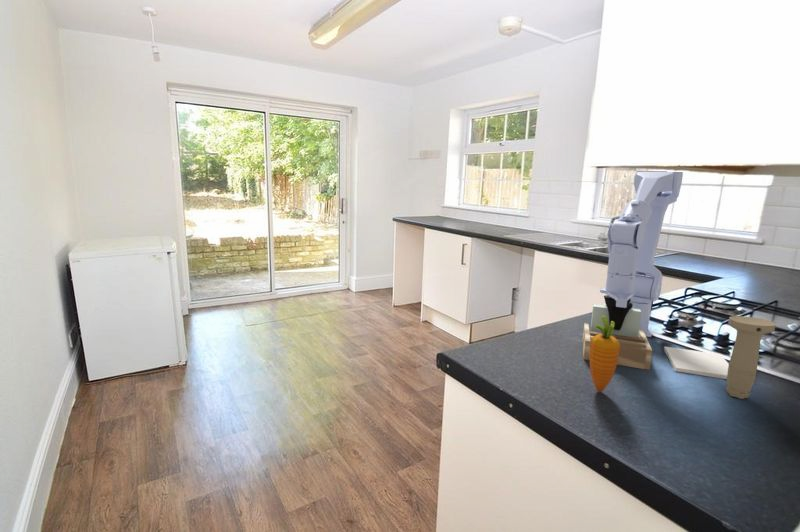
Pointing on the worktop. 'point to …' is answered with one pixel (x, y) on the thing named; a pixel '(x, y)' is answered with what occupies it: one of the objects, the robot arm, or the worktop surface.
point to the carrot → (603, 355)
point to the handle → (745, 353)
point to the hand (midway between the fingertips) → (614, 327)
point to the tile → (697, 362)
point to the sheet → (628, 326)
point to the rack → (624, 349)
